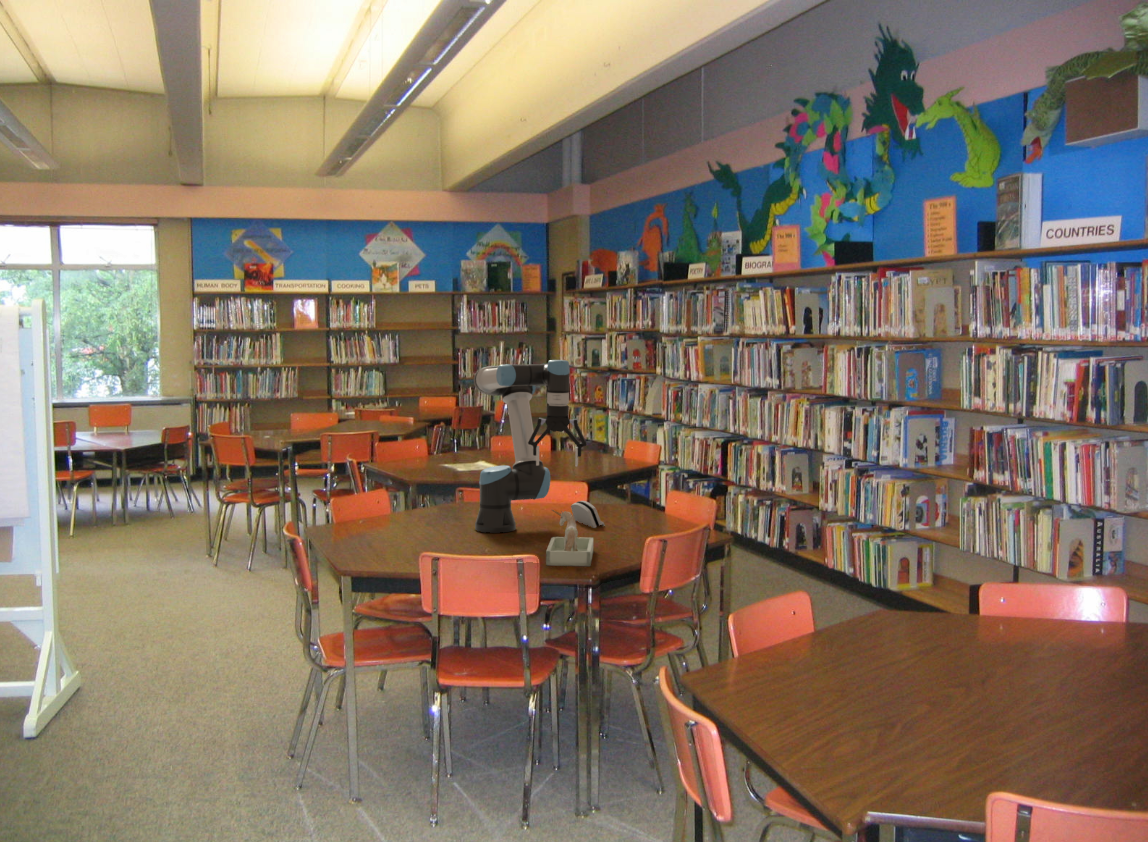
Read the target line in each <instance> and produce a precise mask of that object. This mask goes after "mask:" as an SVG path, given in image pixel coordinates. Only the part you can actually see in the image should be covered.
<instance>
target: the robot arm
mask: <svg viewBox="0 0 1148 842" xmlns="http://www.w3.org/2000/svg"><path fill="white" fill-rule="evenodd" d="M570 372H571V370H570V362H569V360H566V359H550V360H548V362H546V363H541V364H540V363H539V364H537V363H535V364H534V363H533V364H531V363H530V364H528V363H527V364H510V363H506V364H500V365H488V366H484V367H481V368H480V369H478V370H477V371H476V373H475V374H474V377H473V384H474V387H475V388H476V390H477V391H479V392H480V393H482V394H484V395H487V396H494V397H495V396H499V397H500V396H501V397H502V402H503V403H504V404H505V405H507V410H508V411H507V412H508V418H509V425H510V426H509V427H510V432H511V438H512V445H513V452H514V453H513V454H514V460H515V462H514V463H513V465H512V467H511V466H510V465H495V466H490V467H486V468H484V469H482V470H481V471H480V474H479V481H478V484H479V510H478V513H477V517H476V520H475V524H474V529H475V530H474V531H476V530H477V532H479V531H481V533H486V532H490V533H489V534H500V532H503V533H509V532H513V531H515V530H516V524H517V523H516V521H515V517H514V514H513V510H512V502H513V501H527V500H534V501H535V500H540V499H544V498H545V497H547V495H548V493H549V492H550V491H549V490H550V487H551V473H550V472H551V471H550V469H549V468H548V467H546V466H544V462H543V461H542V460H541V459H540V445H538V444H539V443H540V442H541V441H542V440H543V439H544V438H545V437H546V436H547V434H548V433H549V432H550V431H551V432H554V433H556V432H559V433H562V432H565V434H567V435H568V437H569V438H570V439H571V440H572V442H573V443H574V444H575V446H576V447H575V459H574V461H575V462H574V464H575V465H574V466H575V467H576V468H578V465H579V458H581V456H582V448H583V447H586V446H587V444H588V443H587V441H586V439H585V436H584V434H583V433H582V430H581V428H580V426H579V422H578V421H579V419H577V418H575V419H570V417H569V413H570V412H569V411H570V407H569V406H570V405H569V404H570ZM536 386H547V390H546V394H547V396H546V397H547V398H546V400H547V401H546V403H547V406H546V417H545V418H542V417H539V418H538V419H537V421H536V422H537V424H536V426H535V428H534V425H533V417H532V412H531V404H530V401H531V399H532V398H533V395H534V394H535V393H536V388H537V387H536ZM544 424H546V426H547V428H545V430H543V433H541V434H540V436H539V437H538V438H537V439H536V437H537V435H538V433H539V430H540V428H541V426H543V425H544ZM570 424H571V425H572V426H573V427H574V429H575V432H576V433H577V436H578V438H579V439H580V441H579V439H578V438H577V437H576V436H575V435H574V434H573V432H572V431H571V429H570V428H569V427H568V426H569V425H570Z"/></svg>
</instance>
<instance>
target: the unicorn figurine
mask: <svg viewBox="0 0 1148 842" xmlns="http://www.w3.org/2000/svg"><path fill="white" fill-rule="evenodd" d="M551 511H552V512H554V513H555V514H557V515H559V516H560V519H559V522H558V523H559V526H560V527H561V526H564V524H565V522H566V523H567V524H566V526H565V530H564V537H565V541H564V550H563V551H571V548H572V546H573V551H578V550H577V547H578V546H577V537H578V536H579V535H578V534H579V532H578V529H577V523H576V521H575V518H574V516H573V513H571V511H566V510H565V511H561V513H560V512H558V511H556V510H553V509H551Z"/></svg>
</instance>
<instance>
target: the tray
mask: <svg viewBox="0 0 1148 842" xmlns="http://www.w3.org/2000/svg"><path fill="white" fill-rule="evenodd" d="M564 541H565V536H552V537H551V538H550V541H549V543H548V546H547V549H546V551H545V565H546V566H551V567H552V566H554V567H555V566H556V567H560V566H561V567H564V566H565V567H591V566H592V565H591V564H592V560H593V554H594V537H578V536H577V546H578V547H577V550H578V551H573V546H572V548H571V551H563V550H564Z"/></svg>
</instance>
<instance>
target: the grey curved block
mask: <svg viewBox="0 0 1148 842" xmlns="http://www.w3.org/2000/svg"><path fill="white" fill-rule="evenodd" d="M570 509H571V512H572V513H571V514H572V515H573V517H574V518H575V522H577V521H578V523H580V524H582V523H583V524H582V525H585V526H587V525H588V526H587V527H590V526H591V528H593V529H595V528H597V527H598V526H600V525H602V526H601V527H603V526H605V527H606V525H605V523H604V521H602V520H601V518H600V516H599V513H598V510H597V508H596V507H595V506H594V505H593V504H592V503H590V502H589V501H586V500H579V501H576V502H574V503H573V504H571V505H570Z"/></svg>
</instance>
